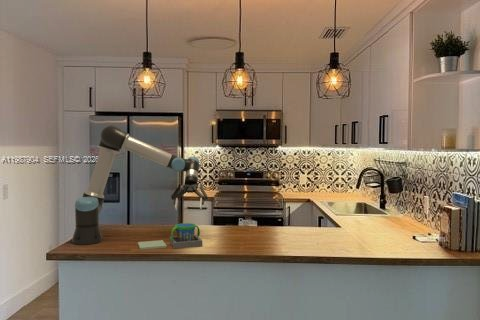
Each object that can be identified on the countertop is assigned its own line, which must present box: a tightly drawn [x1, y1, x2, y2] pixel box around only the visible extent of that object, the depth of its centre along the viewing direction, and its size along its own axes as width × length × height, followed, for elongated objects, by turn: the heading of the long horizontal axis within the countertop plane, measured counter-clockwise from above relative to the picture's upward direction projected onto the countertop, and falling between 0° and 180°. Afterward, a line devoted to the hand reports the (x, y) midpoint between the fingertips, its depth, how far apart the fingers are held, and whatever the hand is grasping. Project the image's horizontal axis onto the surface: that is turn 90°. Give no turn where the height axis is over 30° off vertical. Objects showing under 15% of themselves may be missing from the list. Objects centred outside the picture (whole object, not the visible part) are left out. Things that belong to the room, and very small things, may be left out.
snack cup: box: [170, 222, 201, 242], centre depth 214 cm, size 16×10×10 cm
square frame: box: [169, 234, 203, 250], centre depth 214 cm, size 14×14×3 cm
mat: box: [137, 239, 167, 251], centre depth 211 cm, size 13×13×1 cm
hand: (188, 208), depth 224 cm, fingers open, 13 cm apart
